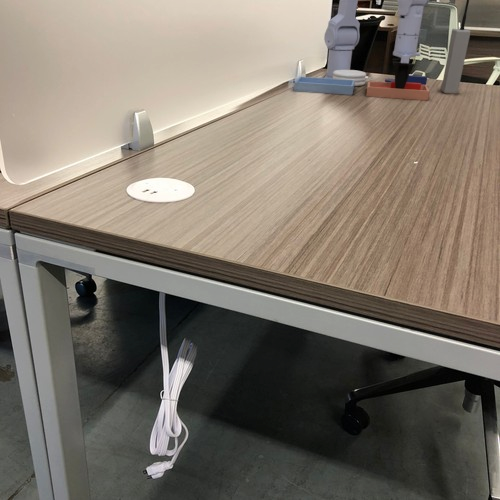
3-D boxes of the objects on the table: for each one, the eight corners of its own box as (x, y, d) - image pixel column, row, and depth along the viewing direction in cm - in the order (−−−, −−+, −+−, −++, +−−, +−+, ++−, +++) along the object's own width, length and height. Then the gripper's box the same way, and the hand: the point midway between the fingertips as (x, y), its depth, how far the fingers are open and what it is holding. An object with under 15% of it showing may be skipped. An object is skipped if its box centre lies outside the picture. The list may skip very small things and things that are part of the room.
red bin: (367, 89, 147) (368, 81, 146) (425, 93, 144) (426, 84, 143) (366, 96, 138) (367, 86, 137) (427, 100, 135) (429, 91, 134)
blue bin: (299, 84, 151) (299, 76, 149) (354, 88, 147) (355, 80, 146) (293, 90, 142) (294, 82, 141) (352, 95, 139) (353, 85, 138)
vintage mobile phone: (452, 90, 149) (472, -4, 137) (457, 94, 144) (478, -4, 133) (439, 90, 149) (458, -5, 137) (444, 93, 145) (463, -5, 133)
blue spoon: (384, 85, 154) (385, 75, 153) (384, 83, 158) (385, 73, 157) (425, 88, 152) (427, 77, 151) (424, 85, 156) (426, 75, 154)
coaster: (325, 81, 157) (326, 70, 155) (352, 80, 161) (353, 68, 159) (344, 87, 149) (345, 75, 147) (371, 85, 153) (373, 73, 151)
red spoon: (374, 93, 140) (375, 81, 138) (374, 90, 144) (375, 79, 142) (419, 96, 138) (421, 84, 136) (418, 93, 141) (420, 82, 140)
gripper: (425, 37, 126) (415, 93, 133) (421, 33, 139) (412, 84, 145) (396, 36, 128) (388, 91, 134) (395, 32, 140) (387, 82, 147)
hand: (399, 87), depth 140 cm, fingers open, 6 cm apart
